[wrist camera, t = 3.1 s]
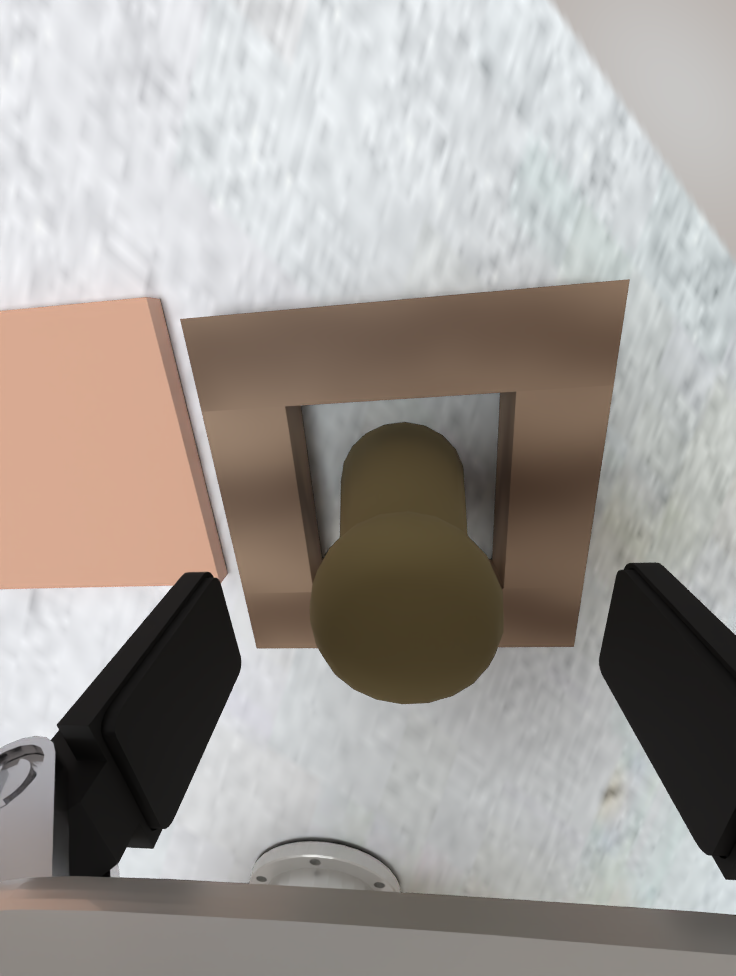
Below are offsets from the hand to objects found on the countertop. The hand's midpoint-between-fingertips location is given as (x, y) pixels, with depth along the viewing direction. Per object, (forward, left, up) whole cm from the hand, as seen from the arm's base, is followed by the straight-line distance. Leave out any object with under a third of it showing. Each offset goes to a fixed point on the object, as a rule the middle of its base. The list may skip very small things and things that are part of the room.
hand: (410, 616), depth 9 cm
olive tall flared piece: (-1, 0, -11) cm, 11 cm away
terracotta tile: (+1, +17, -10) cm, 20 cm away
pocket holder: (-1, 0, -10) cm, 10 cm away
